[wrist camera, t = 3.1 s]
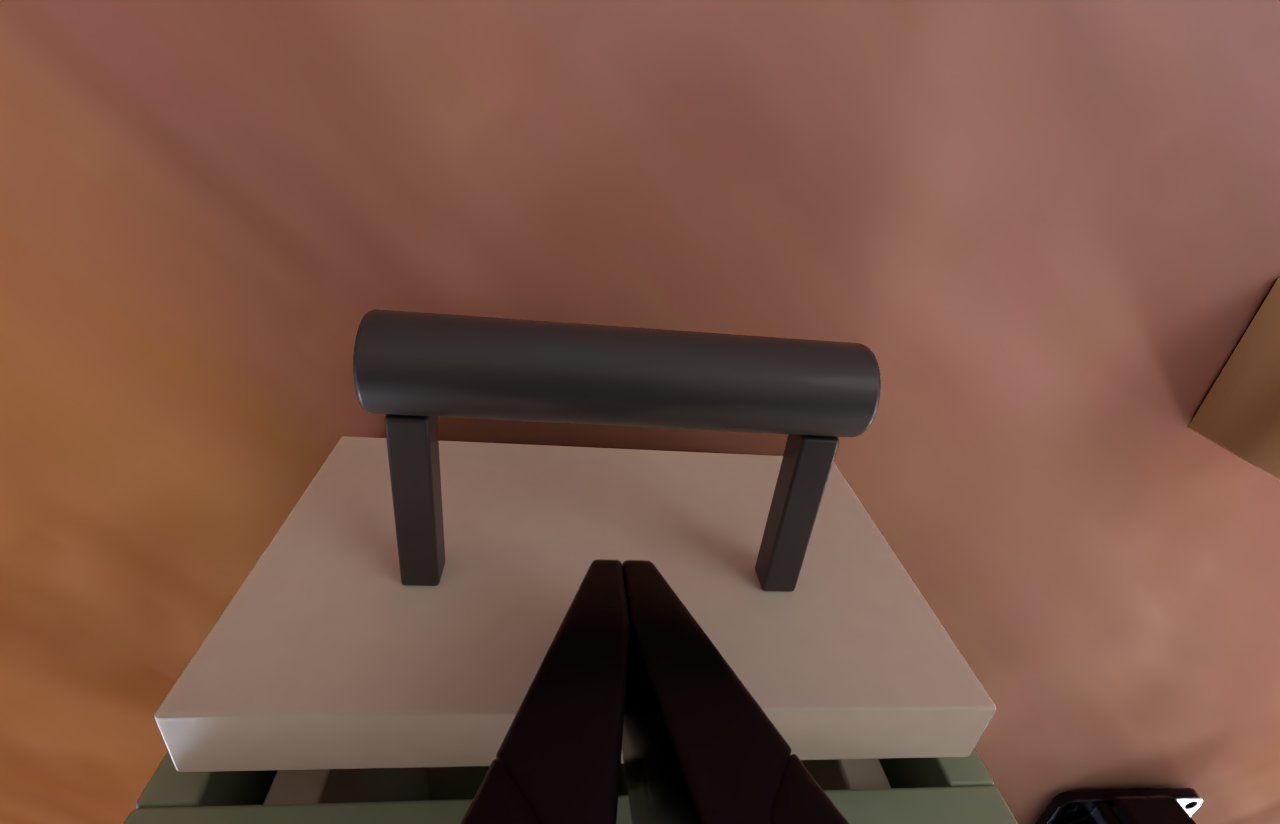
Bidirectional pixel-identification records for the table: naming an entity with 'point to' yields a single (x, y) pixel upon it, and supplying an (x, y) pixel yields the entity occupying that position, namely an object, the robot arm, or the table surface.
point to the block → (1249, 394)
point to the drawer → (567, 563)
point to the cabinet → (878, 818)
